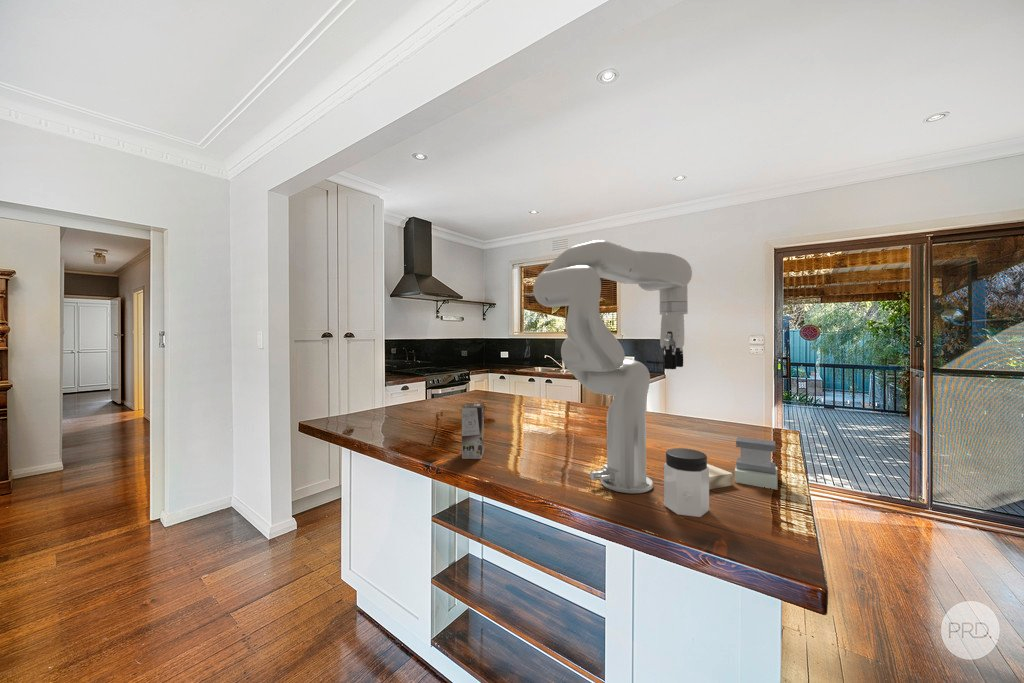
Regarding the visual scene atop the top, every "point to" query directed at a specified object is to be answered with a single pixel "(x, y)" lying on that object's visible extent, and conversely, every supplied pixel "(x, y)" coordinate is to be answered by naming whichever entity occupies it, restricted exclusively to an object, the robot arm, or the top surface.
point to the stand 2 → (756, 478)
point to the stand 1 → (719, 477)
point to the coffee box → (472, 430)
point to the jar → (686, 482)
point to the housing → (756, 455)
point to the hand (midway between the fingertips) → (673, 367)
